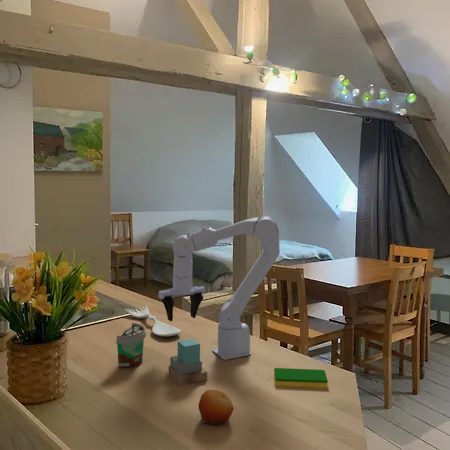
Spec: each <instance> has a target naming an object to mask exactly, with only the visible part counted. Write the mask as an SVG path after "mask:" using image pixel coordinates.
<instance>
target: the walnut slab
mask: <svg viewBox="0 0 450 450" xmlns="http://www.w3.org/2000/svg"><path fill="white" fill-rule="evenodd" d="M168 376H169V377H170V378H172V380H174V382H175V383H176V384H177V385H178V386H179V387H182V386H186V385H187V386H188V385H192V384H197V383H201V382H206V381H208V371H207V370H206V369H205V368H204V367H202V370H201V371H196V372H191V373H186V374H182V375H179V374H178V373H177V372H176V371H175V370H174V369H173V368H172V367H171V366H170V365H168Z"/></svg>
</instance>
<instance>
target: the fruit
mask: <svg viewBox="0 0 450 450" xmlns="http://www.w3.org/2000/svg"><path fill="white" fill-rule="evenodd" d="M198 410H199V413H200V417H201V421H202V422H201V423H200V426H203V424H204V423H208V424H210V425H214V426H215V425H224V424H225V423H227V421H229V419H230V418H231V416H232V414H233V412H234V410H235V408H234V404H233V402H232V400H231V398H230V396H228V395H227V393H225V392H224V391H220V390H218V389H207V390H205V391H204V392H203V393H202V394H201V396H200V399H199V401H198Z"/></svg>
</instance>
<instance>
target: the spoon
mask: <svg viewBox="0 0 450 450" xmlns="http://www.w3.org/2000/svg"><path fill="white" fill-rule="evenodd" d="M138 309H139V310H138ZM124 312H126V313H128V314H129V315H131V316H132V317H134V318H137V319H145V318H147V319H148V320H150V321H154V324H153V325H152V328H151V332H152V333H153V334H154V335H156V336H158V337H166V338H167V337H174V336H177V335H179V334H181V332H182V330H181V329H180V328H178V327H175V326H172V325H170V324H168V323H167V324H166V323H164V322H161V321H159V320H158V319H157V317H158V316H156V315H152V314H150V310H149V307H148V306H147V304H145V305H144V306H141V307H139V308H135V310H134V309H133V308H131V309H130V308H127V307H124Z"/></svg>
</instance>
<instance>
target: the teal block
mask: <svg viewBox="0 0 450 450" xmlns="http://www.w3.org/2000/svg"><path fill="white" fill-rule="evenodd" d="M177 356H178V359H179V360H180V361H181V362H182V363H184V364H185V365H186V364H190V363H195V362H199V361H200V360H201V343H200V342H198V341H197V340H196V339H194V338H188V339H182V340H178V341H177Z"/></svg>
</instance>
